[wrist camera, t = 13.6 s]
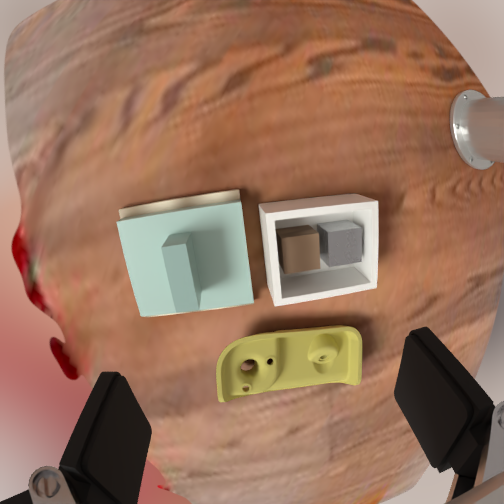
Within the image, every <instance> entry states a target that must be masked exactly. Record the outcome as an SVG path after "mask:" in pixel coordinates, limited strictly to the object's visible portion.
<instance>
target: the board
mask: <svg viewBox="0 0 504 504" xmlns="http://www.w3.org/2000/svg"><path fill="white" fill-rule="evenodd" d="M234 200H240V193H239V189H234V190H227V191H220V192H213V193H206V194H200V195H193V196H187V197H181V198H175V199H169V200H163V201H158V202H152V203H147V204H141V205H136V206H131V207H126V208H121V209H119V215H120V219H122V218H127V217H133V216H138V215H144V214H149V213H155V212H161V211H167V210H173V209H179V208H186V207H192V206H199V205H205V204H212V203H219V202H226V201H234ZM250 304H254V303H249V304H242V305H235V306H228V307H236V306H243V305H250ZM228 307H220V308H213V309H221V308H228ZM213 309H205V310H197V311H189V312H198V311H206V310H213ZM189 312H180V313H171V314H161V315H152V316H145V317H154V316H163V315H172V314H181V313H189Z"/></svg>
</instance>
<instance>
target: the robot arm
mask: <svg viewBox="0 0 504 504" xmlns="http://www.w3.org/2000/svg"><path fill="white" fill-rule="evenodd" d="M450 129H451V134H452V138H453V142H454V145H455V147H456V149H457V151H458V153H459V155H460V157H461V158H462V159H463V160H464V162H465V163H467V164H468V165H469V166H470V167H472V168H475V169H483V170H484V169H487V168H489V167H491V166H492V165H493V164H494V162H501V163H504V97H495V98H486V97H485V96H484V95H483V94H481V93H480V92H478V91H475V90H464V91H462V92H460V93H459V94H458V95H457V96H456V97H455V99H454V100H453V103H452V106H451V111H450ZM394 396H395V399H396V401H397V403H398V405H399V407H400V408H401V410H402V412H403V414H404V416H405V417H406V419H407V421H408V423H409V425H410V426H411V428H412V430H413V432H414V434H415V436H416V437H417V439H418V441H419V443H420V445H421V447H422V449H423V451H424V452H425V454H426V456H427V458H428V460H429V462H430V464H431V466H432V467H434V468H437V469H438V471H439V473H441V472H443V471H445V470H447V469H449V468H451V467H452V468H453V470H454V472H455V475H454V479H453V482H452V485H451V489H450V492H449V495H448V498H447V501H446V503H445V504H504V401H503V402H501V403H499V404H498V405H497V406H496V407H495V406H494V405H493V401H492V400H491V398H490V397H489V396H488V395H487V394H486V393H485V391H484V390H483V389H482V388H481V386H480V385H479V384H478V383H477V382H476V380H475V379H474V378H473V377H472V376H471V375H470V373H469V372H468V371H467V370H466V369H465V368H464V366H463V365H462V364H461V363H460V362H459V361H458V360H457V359H456V357H455V356H454V355H453V354H452V353H451V352H450V351H449V350H448V349H447V347H446V346H445V345H444V344H443V343H442V342H441V341H440V340H439V339H438V338H437V337H436V336H435V334H434V333H433V332H432V331H431V330H430V329H429V328H428V327H422V328H419V329H416V330H412V331H411V332H410V333H409V336H407V337H406V339H405V344H404V349H403V354H402V359H401V364H400V369H399V373H398V377H397V382H396V386H395V390H394ZM151 434H152V430H151V426H150V424H149V422H148V420H147V418H146V417H145V415H144V413H143V411H142V409H141V407H140V406H139V404H138V402H137V400H136V398H135V396H134V394H133V392H132V390H131V388H130V386H129V384H128V382H127V380H126V378H125V377H124V376H121V374H120V373H119V372H102V373H101V374H100V376H99V378H98V380H97V382H96V384H95V386H94V388H93V390H92V392H91V394H90V396H89V398H88V400H87V402H86V405H85V407H84V409H83V411H82V413H81V415H80V417H79V419H78V422H77V424H76V426H75V428H74V431H73V433H72V435H71V437H70V440H69V442H68V444H67V447H66V449H65V451H64V454H63V456H62V458H61V461H60V466H59V469H57V468H55V467H52V466H44V467H40V468H39V469H37V470H35V472H34V473H33V474H32V475H31V477H30V479H29V484H28V486H29V490H26V491H24V492H22V493H20V494H17V495H15V496H13V497H11V498H8V499H6V500H3V501H1V502H0V504H137V502H138V497H139V491H140V486H141V481H142V476H143V471H144V467H145V462H146V457H147V453H148V448H149V444H150V439H151Z"/></svg>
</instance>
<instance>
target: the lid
mask: <svg viewBox="0 0 504 504" xmlns="http://www.w3.org/2000/svg"><path fill="white" fill-rule="evenodd" d="M117 226H118V231H119V235H120V240H121V244H122V248H123V253H124V257H125V261H126V265H127V269H128V272H129V276H130V280H131V284H132V287H133V291H134V294H135V298H136V301H137V305H138V308H139V311H140V315H141V317H142V316H152V315H161V314H171V313H180V312H189V311H197V310H205V309H213V308H220V307H228V306H235V305H242V304H249V303H254V300H253V292H252V284H251V276H250V269H249V261H248V253H247V245H246V237H245V229H244V221H243V213H242V205H241V200H234V201H226V202H219V203H212V204H205V205H199V206H192V207H186V208H179V209H173V210H167V211H161V212H155V213H149V214H144V215H138V216H133V217H127V218H122V219H120V220H119V221H117Z"/></svg>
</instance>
